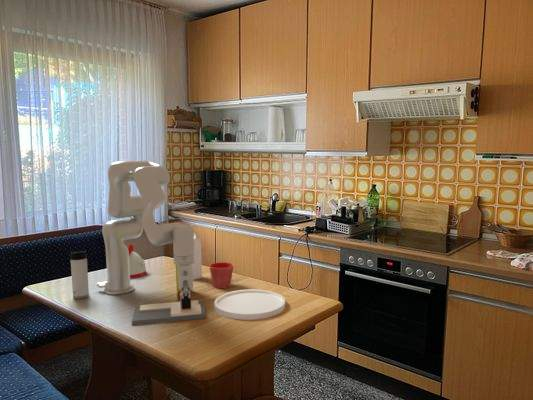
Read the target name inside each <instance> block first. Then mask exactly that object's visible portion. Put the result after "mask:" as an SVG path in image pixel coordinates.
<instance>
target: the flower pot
mask: <svg viewBox="0 0 533 400" xmlns="http://www.w3.org/2000/svg"><path fill="white" fill-rule="evenodd" d="M208 267H209V272H210V277H211V282H212V286H213V287H214V288H216V289H227V288H229V287H230V286H231V284H232V283H231V281H232V277H233V273H234V272H233V270H234V264H233V263H231V262H223V261H222V262H214V263H211V264H209V266H208Z"/></svg>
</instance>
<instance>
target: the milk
mask: <svg viewBox="0 0 533 400" xmlns="http://www.w3.org/2000/svg"><path fill="white" fill-rule="evenodd" d="M194 255H195V263H194V264H192V270H193V281H194V280H198V279H201V278H203V268H202V267H203V266H202V240H201V239H200V238H199V237H197V234H196V233H194Z"/></svg>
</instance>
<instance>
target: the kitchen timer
mask: <svg viewBox="0 0 533 400" xmlns="http://www.w3.org/2000/svg"><path fill="white" fill-rule="evenodd" d="M127 248H128V250H129V266H130V279H135V278H140V277H143V276H145V275H146V274H147V269H146V262H145V259H143V258H142V257H141V256H140V254H139V253H137V252H135V251H134V245H133V244H129V245H128V247H127Z"/></svg>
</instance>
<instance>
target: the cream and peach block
mask: <svg viewBox="0 0 533 400" xmlns="http://www.w3.org/2000/svg"><path fill="white" fill-rule="evenodd" d="M183 293H184V292H183ZM181 298H182V293H180V301H179V302H180V306H175V307H171V317H175V316H186V315H197V314H202V311H201V306H200V304H198V305H191V308H190V309H182V300H181ZM190 298H191V299H192V291H190Z"/></svg>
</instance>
